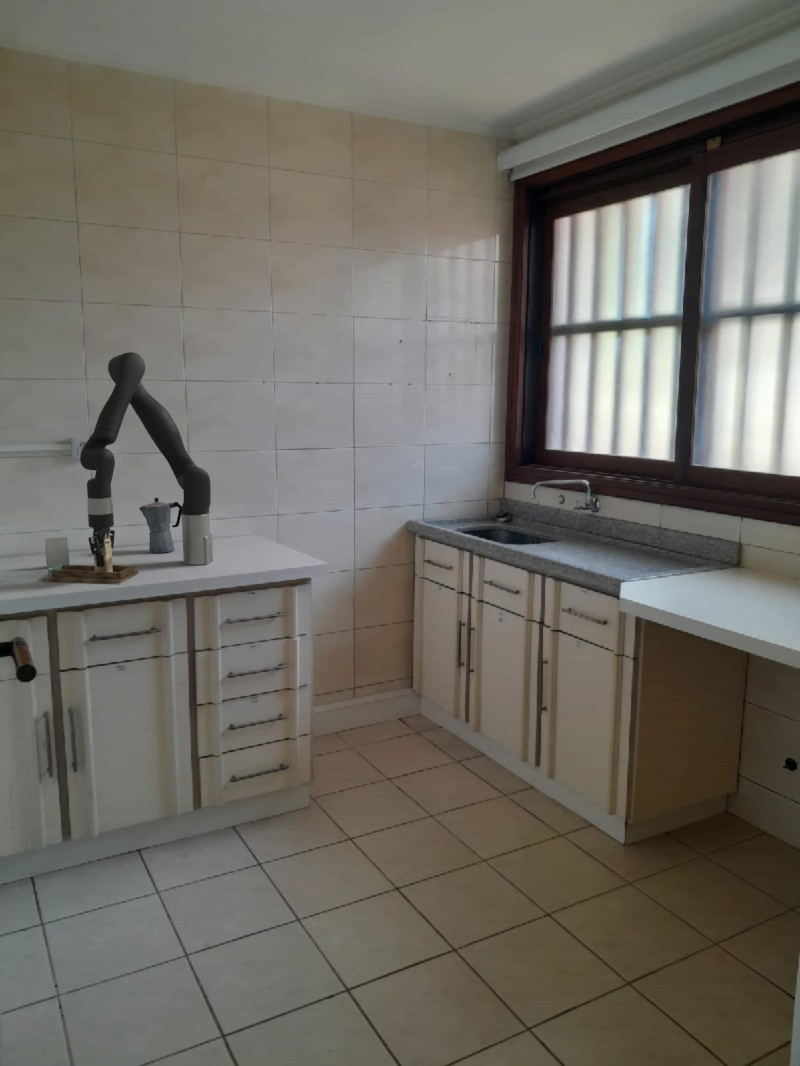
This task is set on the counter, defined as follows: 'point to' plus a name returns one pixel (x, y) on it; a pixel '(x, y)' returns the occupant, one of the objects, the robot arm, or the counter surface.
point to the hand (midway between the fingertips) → (103, 564)
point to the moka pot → (160, 525)
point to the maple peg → (105, 558)
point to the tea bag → (56, 552)
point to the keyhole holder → (89, 574)
